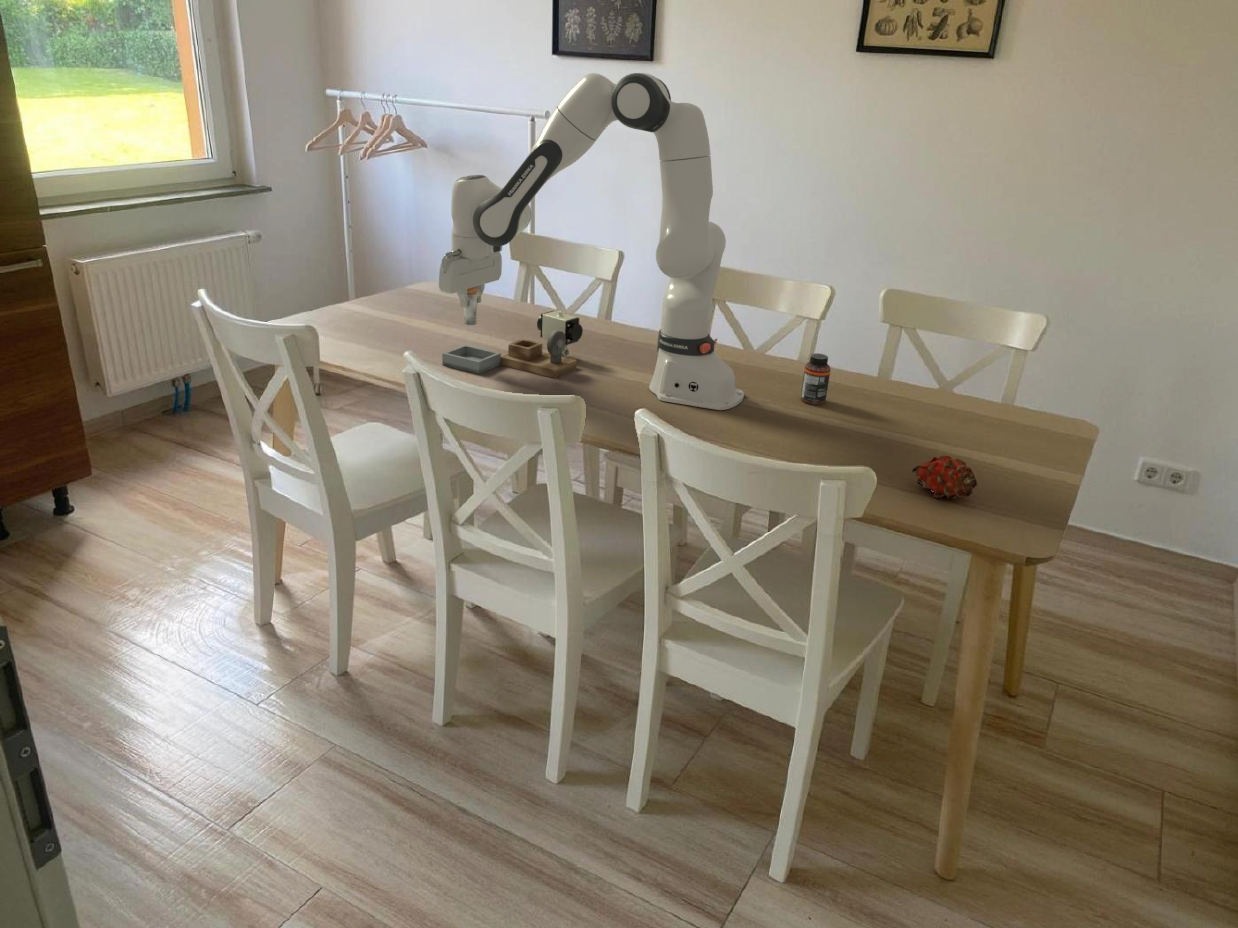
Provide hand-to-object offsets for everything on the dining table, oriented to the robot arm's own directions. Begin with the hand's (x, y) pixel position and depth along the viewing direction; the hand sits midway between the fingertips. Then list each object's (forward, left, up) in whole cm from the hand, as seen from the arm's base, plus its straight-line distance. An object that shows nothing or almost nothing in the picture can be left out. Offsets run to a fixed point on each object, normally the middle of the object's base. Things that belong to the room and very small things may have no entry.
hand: (470, 304), depth 217 cm
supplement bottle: (-79, -29, -15) cm, 85 cm away
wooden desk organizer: (-14, -10, -15) cm, 22 cm away
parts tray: (0, 0, -15) cm, 15 cm away
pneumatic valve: (-14, -20, -15) cm, 28 cm away
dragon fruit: (-115, +6, -15) cm, 116 cm away
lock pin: (0, 0, -5) cm, 5 cm away
